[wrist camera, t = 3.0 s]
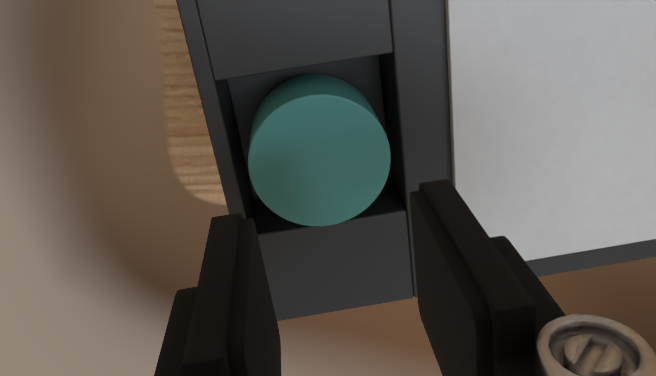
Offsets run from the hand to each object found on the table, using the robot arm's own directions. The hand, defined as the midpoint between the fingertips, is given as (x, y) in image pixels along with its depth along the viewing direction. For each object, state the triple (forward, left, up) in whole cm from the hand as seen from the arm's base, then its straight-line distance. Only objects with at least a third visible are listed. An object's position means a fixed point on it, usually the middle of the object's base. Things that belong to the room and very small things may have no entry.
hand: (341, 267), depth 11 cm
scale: (+5, 0, -9) cm, 10 cm away
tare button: (0, 0, -7) cm, 7 cm away
